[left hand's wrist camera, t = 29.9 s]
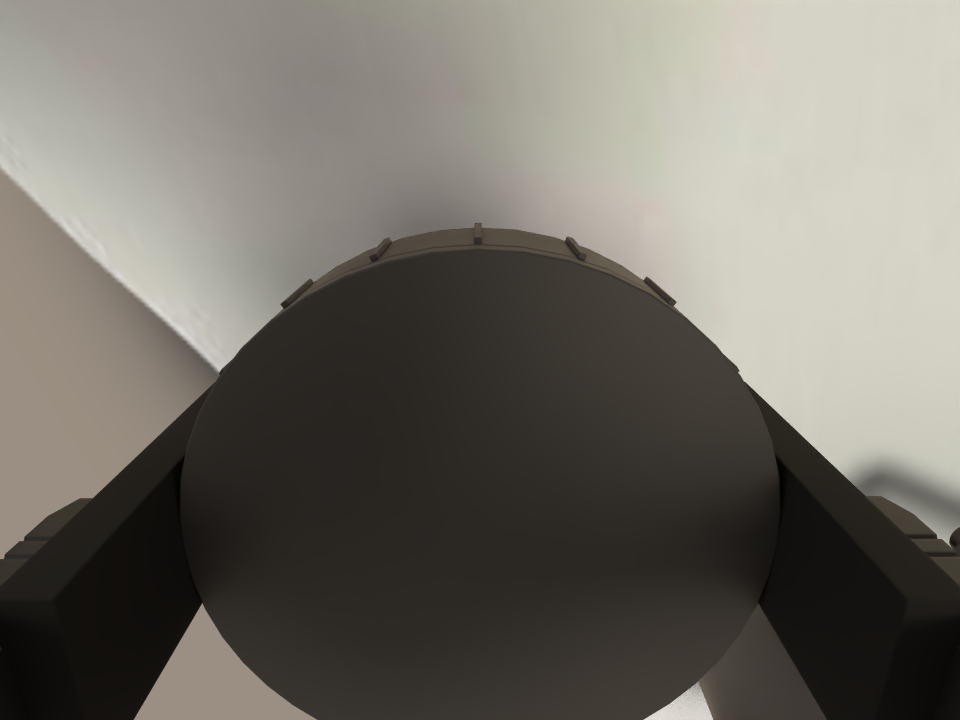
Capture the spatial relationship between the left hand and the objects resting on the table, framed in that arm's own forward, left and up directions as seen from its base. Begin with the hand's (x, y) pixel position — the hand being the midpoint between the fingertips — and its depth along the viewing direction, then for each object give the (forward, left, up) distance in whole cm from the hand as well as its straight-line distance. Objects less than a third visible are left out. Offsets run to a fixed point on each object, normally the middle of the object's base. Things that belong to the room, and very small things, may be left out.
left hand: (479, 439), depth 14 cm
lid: (0, 0, +3) cm, 3 cm away
